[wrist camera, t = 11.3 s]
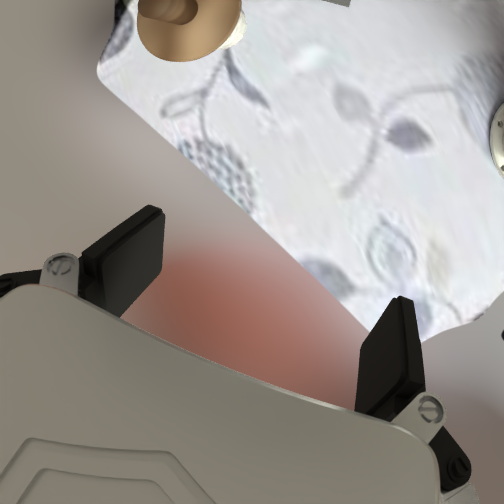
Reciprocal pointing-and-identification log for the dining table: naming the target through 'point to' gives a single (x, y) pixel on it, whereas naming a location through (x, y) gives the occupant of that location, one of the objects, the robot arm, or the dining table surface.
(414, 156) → the dining table surface
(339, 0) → the mat
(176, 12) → the lid
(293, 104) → the dining table surface
